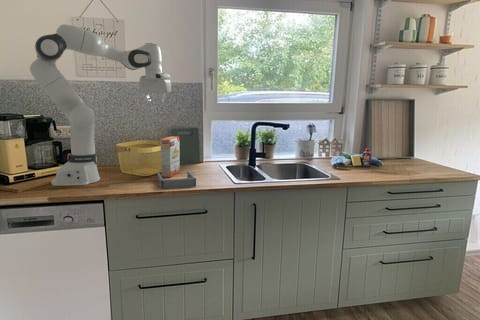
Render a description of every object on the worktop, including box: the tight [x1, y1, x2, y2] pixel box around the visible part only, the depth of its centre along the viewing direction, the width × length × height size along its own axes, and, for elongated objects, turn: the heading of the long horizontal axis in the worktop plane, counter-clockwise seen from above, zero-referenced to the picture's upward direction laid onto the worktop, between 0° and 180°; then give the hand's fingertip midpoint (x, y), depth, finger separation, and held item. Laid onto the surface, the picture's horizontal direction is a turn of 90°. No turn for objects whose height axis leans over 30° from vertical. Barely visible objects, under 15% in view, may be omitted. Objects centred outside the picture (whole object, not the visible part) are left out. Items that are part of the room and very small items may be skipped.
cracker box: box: [160, 135, 181, 178], centre depth 191 cm, size 14×6×21 cm, turn 168°
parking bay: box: [156, 170, 197, 190], centre depth 176 cm, size 17×17×4 cm
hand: (155, 101), depth 186 cm, fingers open, 8 cm apart
